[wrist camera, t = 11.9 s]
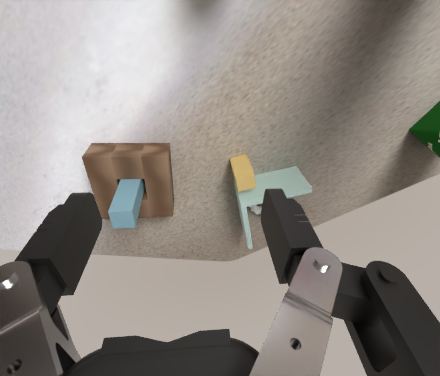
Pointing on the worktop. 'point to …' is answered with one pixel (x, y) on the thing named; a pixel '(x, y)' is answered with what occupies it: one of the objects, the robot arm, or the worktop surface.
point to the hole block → (131, 174)
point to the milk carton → (429, 129)
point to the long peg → (126, 203)
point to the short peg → (243, 173)
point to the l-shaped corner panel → (283, 178)
